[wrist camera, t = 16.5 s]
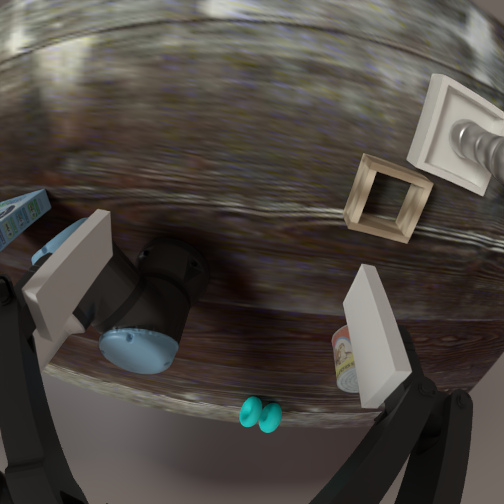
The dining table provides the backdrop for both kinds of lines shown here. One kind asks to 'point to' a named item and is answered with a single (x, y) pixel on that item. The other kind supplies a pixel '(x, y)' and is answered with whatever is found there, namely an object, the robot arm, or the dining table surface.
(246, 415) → the turquoise yo-yo
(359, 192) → the wooden collar
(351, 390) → the canned food
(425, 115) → the plastic tray
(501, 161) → the plastic bottle
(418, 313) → the dining table surface
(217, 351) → the dining table surface
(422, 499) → the robot arm
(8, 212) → the gum box
